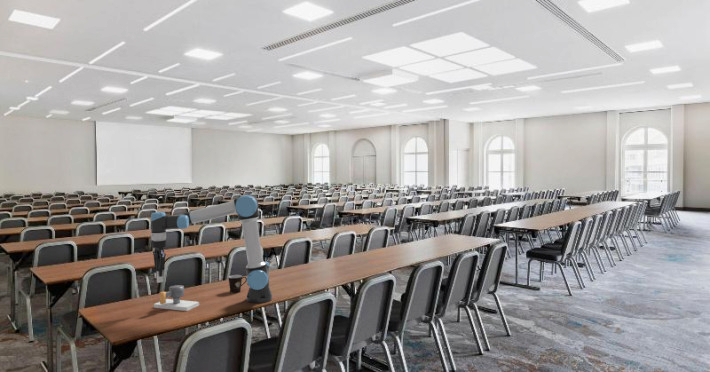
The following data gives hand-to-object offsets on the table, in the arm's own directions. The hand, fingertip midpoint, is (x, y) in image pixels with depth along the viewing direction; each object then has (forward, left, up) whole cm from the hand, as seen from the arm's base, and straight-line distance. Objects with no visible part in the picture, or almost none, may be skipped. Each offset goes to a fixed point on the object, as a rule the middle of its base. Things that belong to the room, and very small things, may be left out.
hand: (159, 282), depth 244 cm
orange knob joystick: (-4, -4, -11) cm, 12 cm away
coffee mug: (-21, -47, -16) cm, 54 cm away
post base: (-4, -9, -16) cm, 19 cm away
